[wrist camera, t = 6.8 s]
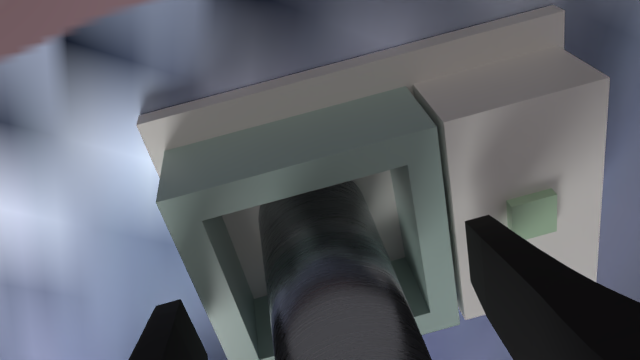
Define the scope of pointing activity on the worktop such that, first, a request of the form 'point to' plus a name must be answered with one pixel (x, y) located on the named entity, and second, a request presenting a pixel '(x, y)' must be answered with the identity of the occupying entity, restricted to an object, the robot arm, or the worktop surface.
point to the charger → (391, 164)
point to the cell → (333, 281)
